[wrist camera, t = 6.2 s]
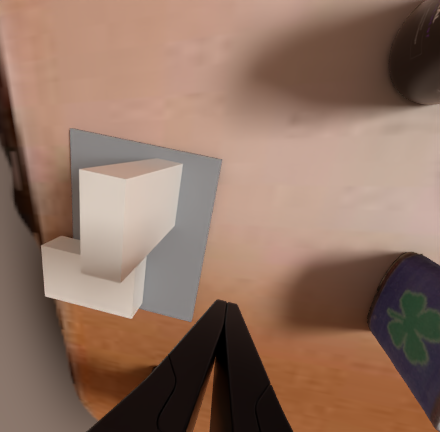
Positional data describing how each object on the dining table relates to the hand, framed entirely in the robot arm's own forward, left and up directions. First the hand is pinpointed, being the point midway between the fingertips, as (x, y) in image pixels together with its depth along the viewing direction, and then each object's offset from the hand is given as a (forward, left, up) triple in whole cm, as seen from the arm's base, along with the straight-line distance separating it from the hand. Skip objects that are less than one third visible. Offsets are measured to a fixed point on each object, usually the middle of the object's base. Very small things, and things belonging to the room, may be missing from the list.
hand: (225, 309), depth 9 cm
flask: (-4, -16, -13) cm, 21 cm away
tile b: (+1, +7, -12) cm, 14 cm away
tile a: (-9, +8, -11) cm, 17 cm away
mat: (-4, +10, -13) cm, 16 cm away
